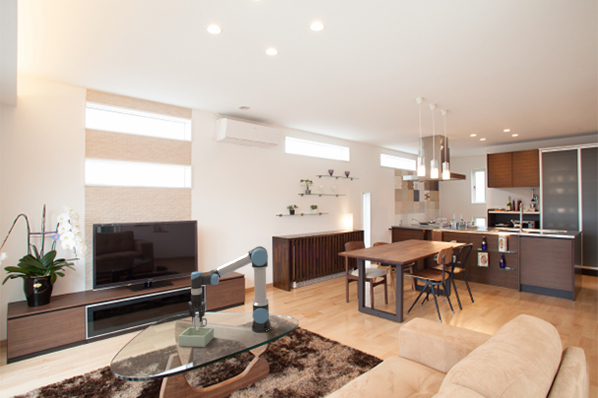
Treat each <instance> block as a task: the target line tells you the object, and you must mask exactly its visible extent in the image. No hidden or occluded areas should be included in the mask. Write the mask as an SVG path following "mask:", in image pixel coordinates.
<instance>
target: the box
mask: <svg viewBox="0 0 598 398" xmlns="http://www.w3.org/2000/svg"><path fill="white" fill-rule="evenodd" d="M214 330H215V328H214V327H200V332H199V333H195V327H192V326H189V327H188V328H187V329H185V330H184V331H182V332H181V333H179V335H178V337H177V338H178V347H197V348H198V347H199V348H205V347H206V346H207V345H208V344H209V343H210V342H211V341H212V340H213V339H214V338H215V332H214Z"/></svg>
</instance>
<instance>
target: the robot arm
mask: <svg viewBox="0 0 598 398" xmlns="http://www.w3.org/2000/svg"><path fill="white" fill-rule="evenodd" d="M267 250H268V249H266V248H265V247H263V246H256V247H254V248H253V249H251V250H249V251H247V253H246V254H244V255H242V256H239V257H238V258H235V259H234V260H231V261H230V262H227V263H225V264H223V265H220V266H219V267H217V268H215V269H211V270H210V271H209V272H208V274H203V273H202V271H192V272H191V274H190V291H191V292H190V293H191V295H190V299H191V300H190V301H189V302H187V306H188V315H189V317H191V318H192V322H193V327H195V315H196V311H198V315H199V318H198V327H200V326H201V321H202V317H203V318H204V317H205V313H206V304H207V302H205V301H204V300H203V286H215V285H218V284H219V283H220V278H223V277H224V276H226V275H228V274H230V273H232V272H235V271H237V270H238V269H241V268H243V267H246V266H248V265H249V264H251V267H252V269H253V279H254V280H253V282H254V283H253V284H254V285H253V286H254V299H253V302H252V319H253V321H252V324H251V331H252V332H255V333H264V332H263V331H266V330H268V329H270V328H271V329H272V323H271V321H270V312H269V309H270V308H269V307H270V306H269V305H270V304H269V299H268V298H267V270H266V269H267V268H268V266H269V264H268V260H269V255H268V251H267ZM271 329H270V330H271ZM266 332H267V331H266Z"/></svg>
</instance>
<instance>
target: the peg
mask: <svg viewBox="0 0 598 398" xmlns="http://www.w3.org/2000/svg"><path fill="white" fill-rule="evenodd" d="M198 318H199V314H195V333H199V332H200V327H198Z"/></svg>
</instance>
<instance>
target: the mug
mask: <svg viewBox="0 0 598 398" xmlns="http://www.w3.org/2000/svg"><path fill="white" fill-rule="evenodd" d="M190 319H191V326H190V327H193V322H192V317H191V318H190ZM204 321H205V323H204ZM207 323H208V319H207V318H206V317H204V316H203V317H202V321H201V326H200V327H204V328H206V326H207V325H208V324H207Z"/></svg>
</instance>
